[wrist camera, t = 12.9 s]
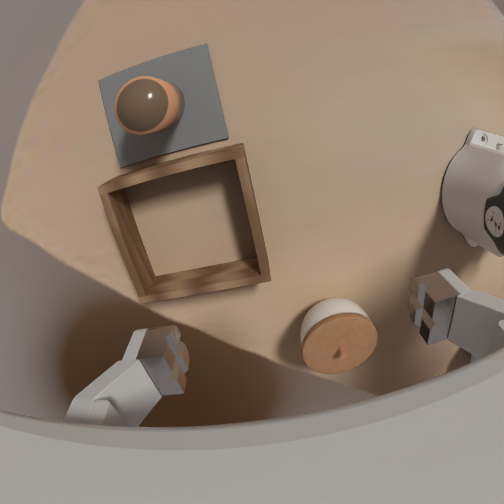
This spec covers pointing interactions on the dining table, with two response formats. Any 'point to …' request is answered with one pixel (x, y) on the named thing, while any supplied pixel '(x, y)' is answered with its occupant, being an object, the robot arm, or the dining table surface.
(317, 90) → the dining table surface
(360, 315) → the lidded jar
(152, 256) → the dining table surface
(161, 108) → the peach cylinder
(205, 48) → the slate mat
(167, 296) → the wooden frame
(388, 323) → the dining table surface
